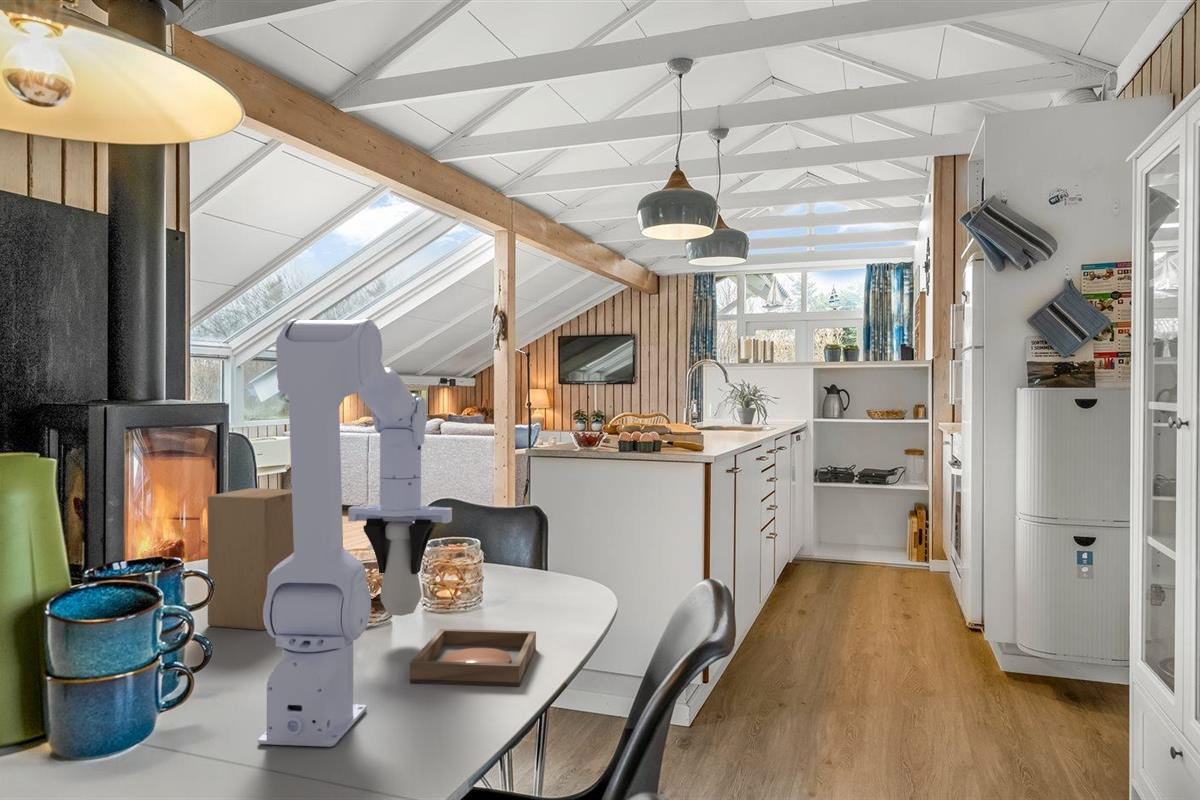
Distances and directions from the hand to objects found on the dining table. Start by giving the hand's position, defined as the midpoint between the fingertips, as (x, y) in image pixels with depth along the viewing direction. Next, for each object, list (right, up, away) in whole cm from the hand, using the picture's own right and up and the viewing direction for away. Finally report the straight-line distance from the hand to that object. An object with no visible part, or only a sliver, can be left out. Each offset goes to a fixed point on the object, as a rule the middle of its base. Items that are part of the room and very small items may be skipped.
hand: (400, 572), depth 109 cm
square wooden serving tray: (+12, -10, -9) cm, 18 cm away
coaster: (+12, -10, -9) cm, 18 cm away
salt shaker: (0, -6, +1) cm, 6 cm away
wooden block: (-25, -10, +11) cm, 29 cm away
